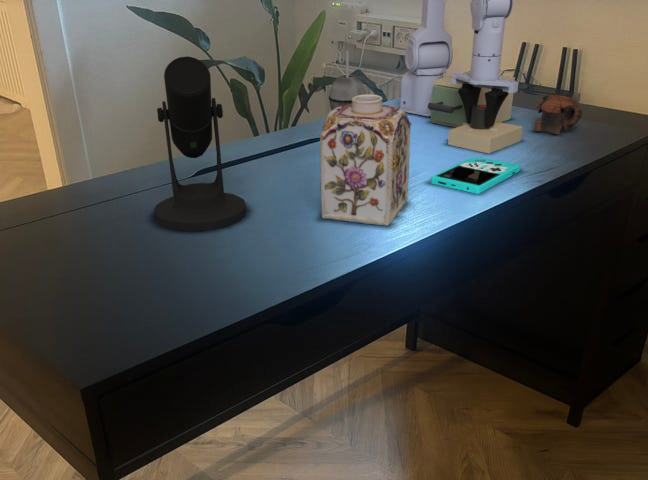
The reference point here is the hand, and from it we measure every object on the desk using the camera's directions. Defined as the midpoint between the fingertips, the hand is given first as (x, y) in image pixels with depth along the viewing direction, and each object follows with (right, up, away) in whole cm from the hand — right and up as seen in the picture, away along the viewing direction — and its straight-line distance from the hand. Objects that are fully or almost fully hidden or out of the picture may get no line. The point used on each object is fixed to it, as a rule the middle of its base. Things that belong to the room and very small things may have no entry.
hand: (479, 124), depth 153 cm
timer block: (+1, -4, +1) cm, 4 cm away
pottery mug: (+19, +1, +8) cm, 20 cm away
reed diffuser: (-28, -9, -6) cm, 30 cm away
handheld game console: (-5, -16, -18) cm, 24 cm away
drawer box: (+2, +6, +17) cm, 18 cm away
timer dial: (0, 0, 0) cm, 0 cm away
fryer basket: (-1, +5, +14) cm, 15 cm away
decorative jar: (-26, -24, -32) cm, 48 cm away
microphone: (-53, -25, -32) cm, 66 cm away
